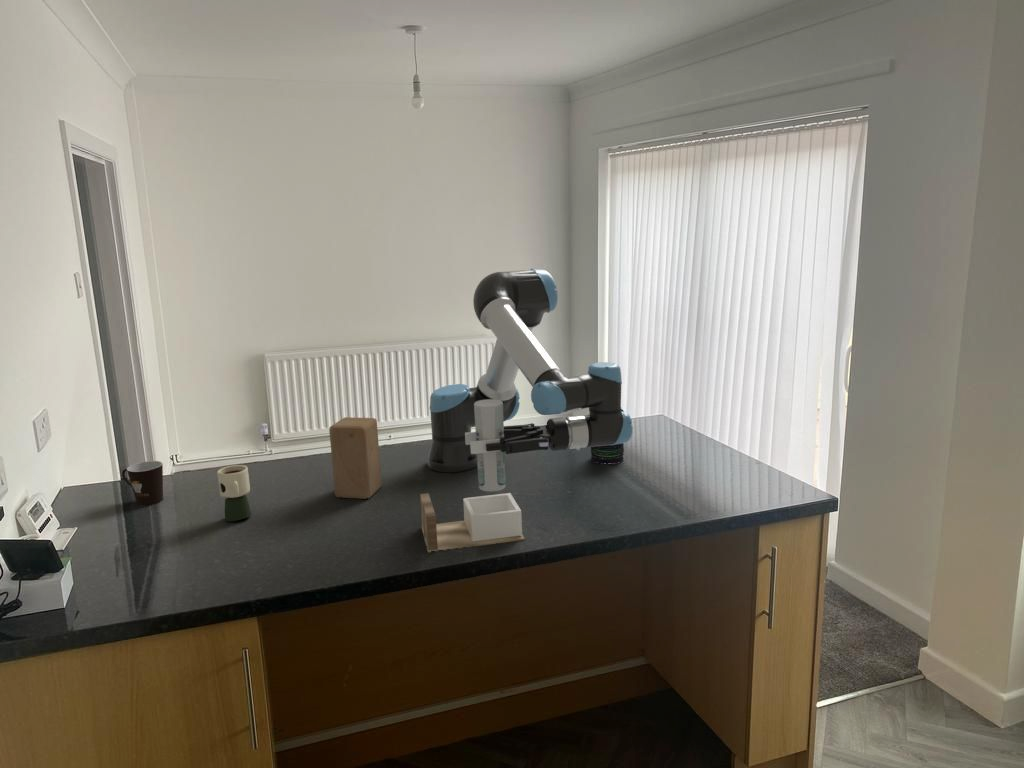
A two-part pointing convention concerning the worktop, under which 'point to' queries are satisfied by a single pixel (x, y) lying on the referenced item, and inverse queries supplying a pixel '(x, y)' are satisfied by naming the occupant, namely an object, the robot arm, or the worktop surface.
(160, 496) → the coffee mug
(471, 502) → the sleeve
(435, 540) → the brown l-shaped stand
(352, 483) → the wooden block
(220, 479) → the character mug
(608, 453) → the storage jar
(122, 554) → the worktop surface
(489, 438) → the spray can
